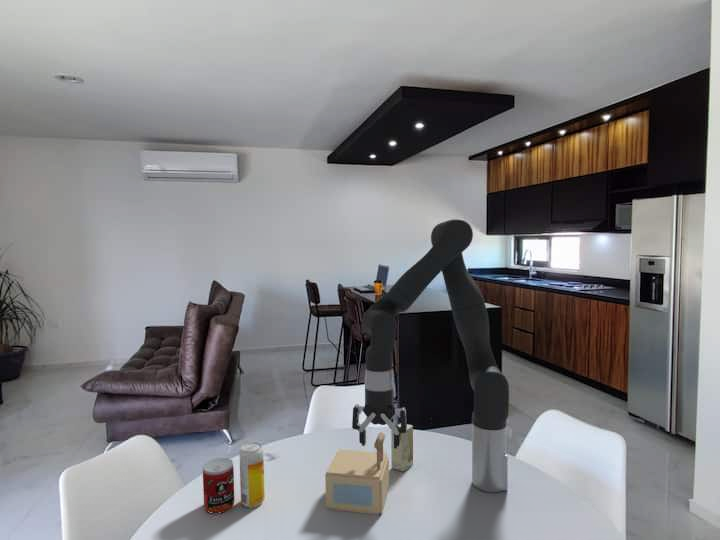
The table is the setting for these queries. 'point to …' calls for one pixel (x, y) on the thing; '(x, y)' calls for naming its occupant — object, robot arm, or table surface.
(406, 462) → the skincare box
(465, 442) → the table surface
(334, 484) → the wooden box
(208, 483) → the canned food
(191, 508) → the table surface
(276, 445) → the table surface
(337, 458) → the flap
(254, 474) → the beer can
